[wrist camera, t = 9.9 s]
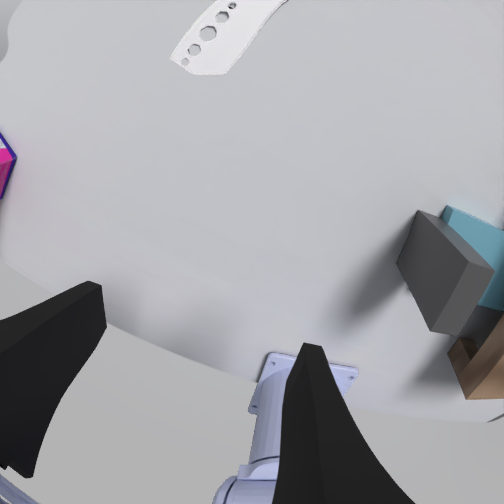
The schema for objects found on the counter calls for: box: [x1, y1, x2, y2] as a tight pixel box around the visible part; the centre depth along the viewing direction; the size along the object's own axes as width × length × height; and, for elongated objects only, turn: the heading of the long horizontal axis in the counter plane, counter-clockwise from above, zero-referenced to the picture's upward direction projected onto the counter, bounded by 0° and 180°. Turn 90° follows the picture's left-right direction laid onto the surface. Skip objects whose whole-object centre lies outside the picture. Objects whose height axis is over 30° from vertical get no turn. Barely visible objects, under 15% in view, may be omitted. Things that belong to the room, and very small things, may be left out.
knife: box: [170, 0, 287, 75], centre depth 12 cm, size 30×2×8 cm
